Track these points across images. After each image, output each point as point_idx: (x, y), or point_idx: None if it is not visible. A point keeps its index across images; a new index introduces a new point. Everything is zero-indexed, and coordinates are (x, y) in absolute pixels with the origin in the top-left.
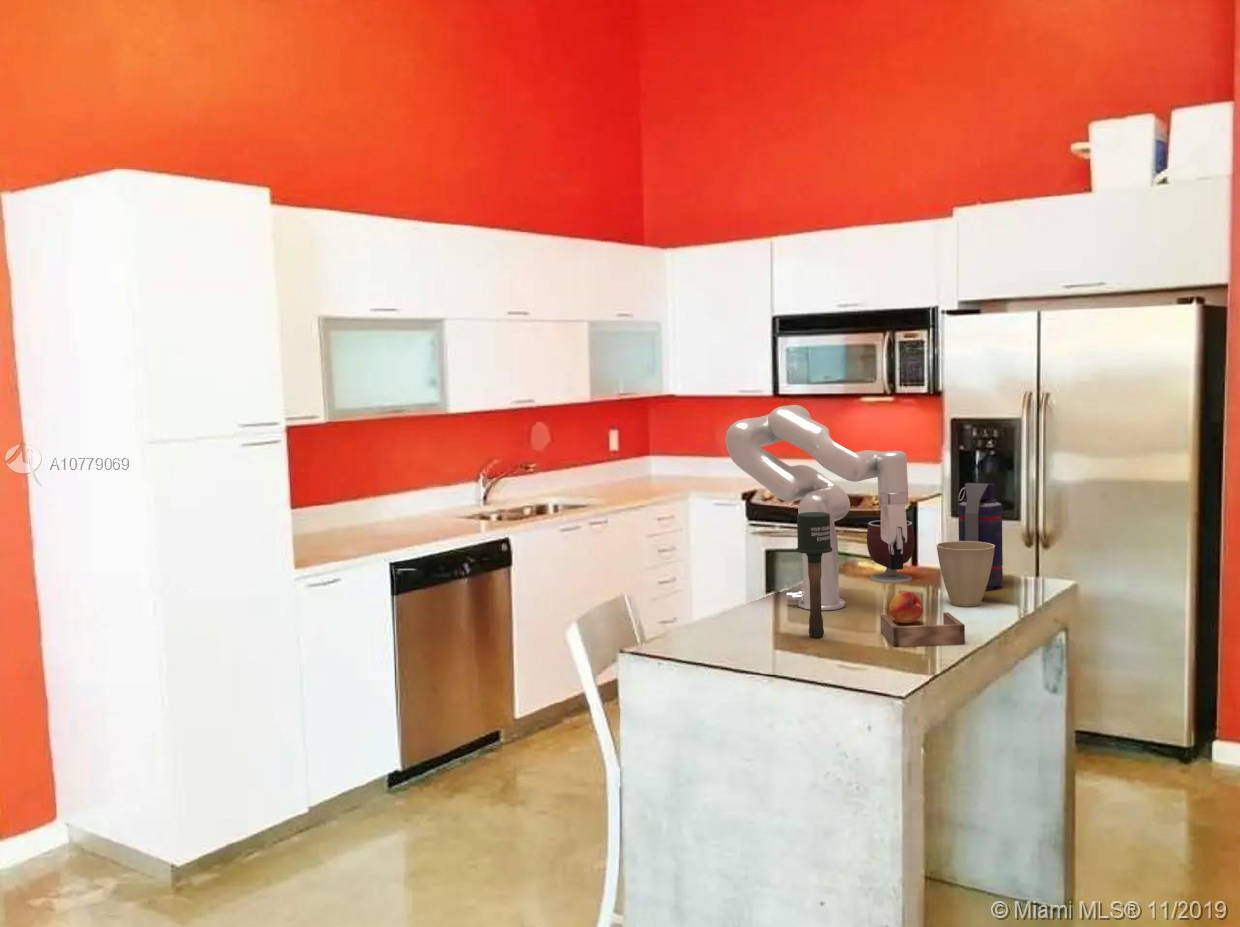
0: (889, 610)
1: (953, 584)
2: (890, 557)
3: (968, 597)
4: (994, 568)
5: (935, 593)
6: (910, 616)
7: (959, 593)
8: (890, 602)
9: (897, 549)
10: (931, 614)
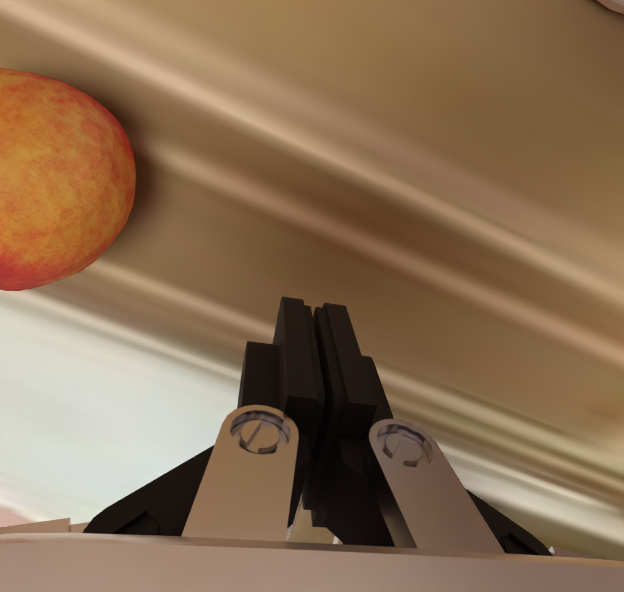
0: (27, 73)
1: (325, 539)
2: (286, 369)
3: (294, 523)
4: None
5: (552, 477)
6: None
7: (310, 516)
8: (13, 91)
9: (39, 529)
10: (229, 345)
